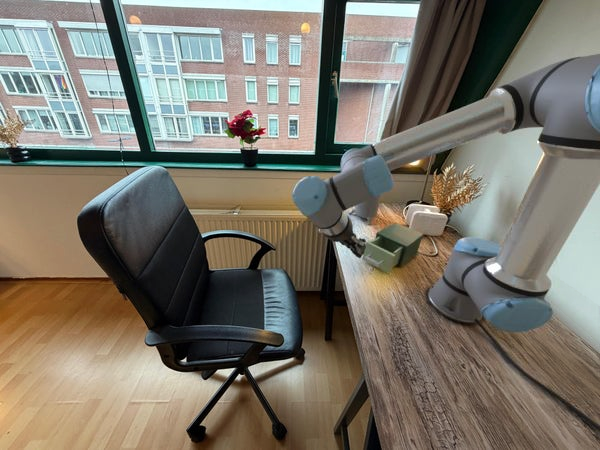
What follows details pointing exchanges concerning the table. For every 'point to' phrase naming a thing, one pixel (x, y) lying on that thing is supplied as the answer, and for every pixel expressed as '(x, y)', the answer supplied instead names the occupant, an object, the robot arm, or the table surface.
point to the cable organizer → (426, 219)
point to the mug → (367, 209)
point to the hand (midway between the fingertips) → (360, 254)
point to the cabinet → (402, 240)
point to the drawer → (383, 253)
